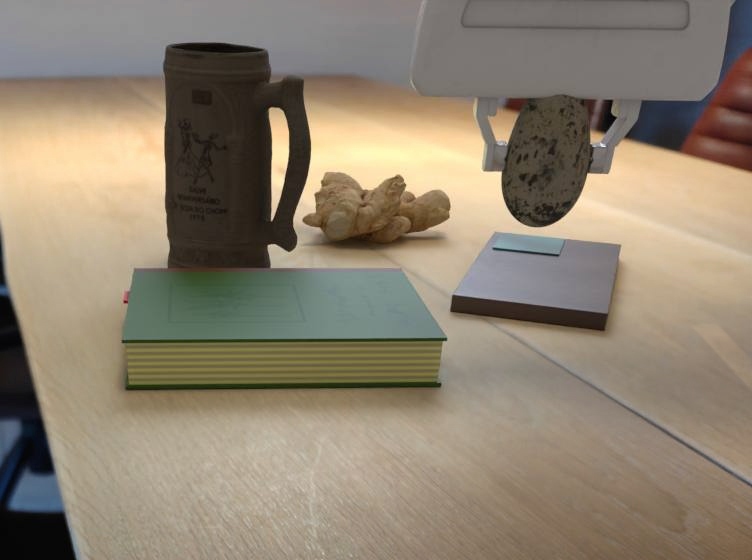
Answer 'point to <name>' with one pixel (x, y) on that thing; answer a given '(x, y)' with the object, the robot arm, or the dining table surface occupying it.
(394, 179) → the ginger root
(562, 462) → the dining table surface
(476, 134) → the dining table surface
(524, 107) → the decorative egg
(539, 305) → the serving board
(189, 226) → the beer stein
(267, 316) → the hardcover book
